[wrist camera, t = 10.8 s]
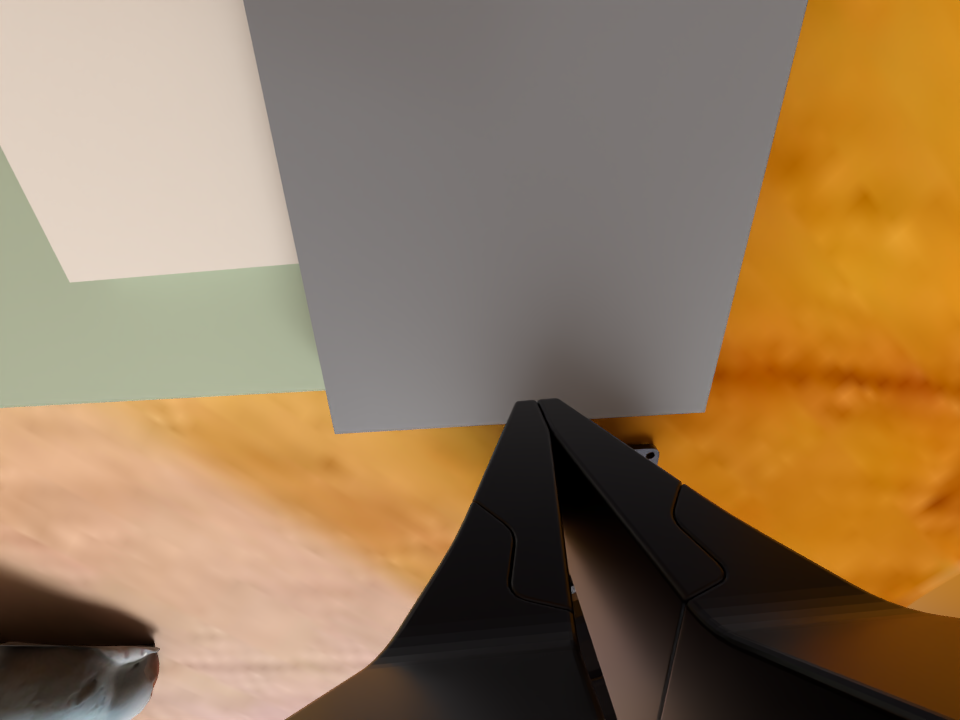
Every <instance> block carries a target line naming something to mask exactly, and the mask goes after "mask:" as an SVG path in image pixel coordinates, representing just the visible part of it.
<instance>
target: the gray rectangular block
mask: <svg viewBox="0 0 960 720" xmlns="http://www.w3.org/2000/svg"><path fill="white" fill-rule="evenodd" d="M243 2H244V7H245V12H246V16H247V21H248V26H249V31H250V35H251V40H252V45H253V49H254V54H255V59H256V64H257V68H258V73H259V78H260V83H261V87H262V92H263V97H264V101H265V106H266V111H267V116H268V120H269V125H270V130H271V134H272V139H273V144H274V149H275V153H276V158H277V163H278V168H279V172H280V177H281V182H282V186H283V191H284V196H285V201H286V205H287V210H288V215H289V220H290V224H291V229H292V234H293V238H294V243H295V248H296V253H297V257H298V262H299V267H300V271H301V276H302V281H303V286H304V290H305V295H306V300H307V305H308V309H309V314H310V319H311V323H312V328H313V333H314V338H315V342H316V347H317V352H318V356H319V361H320V366H321V371H322V375H323V380H324V385H325V390H326V394H327V399H328V404H329V408H330V413H331V418H332V423H333V427H334V432H335V434H342V433H359V432H376V431H393V430H411V429H428V428H445V427H462V426H479V425H496V424H506V422H507V420H508V418H509V415H510V413H511V411H512V408H513V406H514V404H515V402H517V401H523V400H535V401H536V402H537V401H538V400H540V399H548V398H558V399H560V400H562V401H563V402H565V403H566V404H568V405H569V406H571V407H572V408H573V409H575V410H576V411H578V412H579V413H581V414H582V415H584V416H585V417H587V418H588V419H598V418H615V417H632V416H649V415H666V414H683V413H700V412H705V408H706V404H707V400H708V396H709V392H710V388H711V384H712V380H713V376H714V372H715V368H716V365H717V361H718V357H719V353H720V349H721V345H722V341H723V337H724V333H725V329H726V325H727V321H728V317H729V313H730V309H731V305H732V301H733V297H734V293H735V289H736V285H737V281H738V277H739V273H740V269H741V265H742V261H743V257H744V253H745V249H746V245H747V241H748V237H749V233H750V229H751V225H752V221H753V217H754V213H755V209H756V205H757V201H758V197H759V193H760V189H761V185H762V181H763V177H764V173H765V170H766V166H767V162H768V158H769V154H770V150H771V146H772V142H773V138H774V134H775V130H776V126H777V122H778V118H779V114H780V110H781V106H782V102H783V98H784V94H785V90H786V86H787V82H788V78H789V74H790V70H791V66H792V62H793V58H794V54H795V50H796V46H797V42H798V38H799V34H800V30H801V26H802V22H803V18H804V14H805V10H806V6H807V2H808V0H243Z"/></svg>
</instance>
